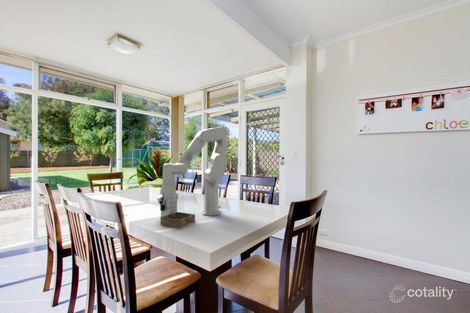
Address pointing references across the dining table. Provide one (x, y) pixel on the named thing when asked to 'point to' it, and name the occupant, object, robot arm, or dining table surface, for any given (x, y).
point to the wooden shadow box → (177, 219)
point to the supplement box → (170, 207)
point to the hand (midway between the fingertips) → (168, 209)
